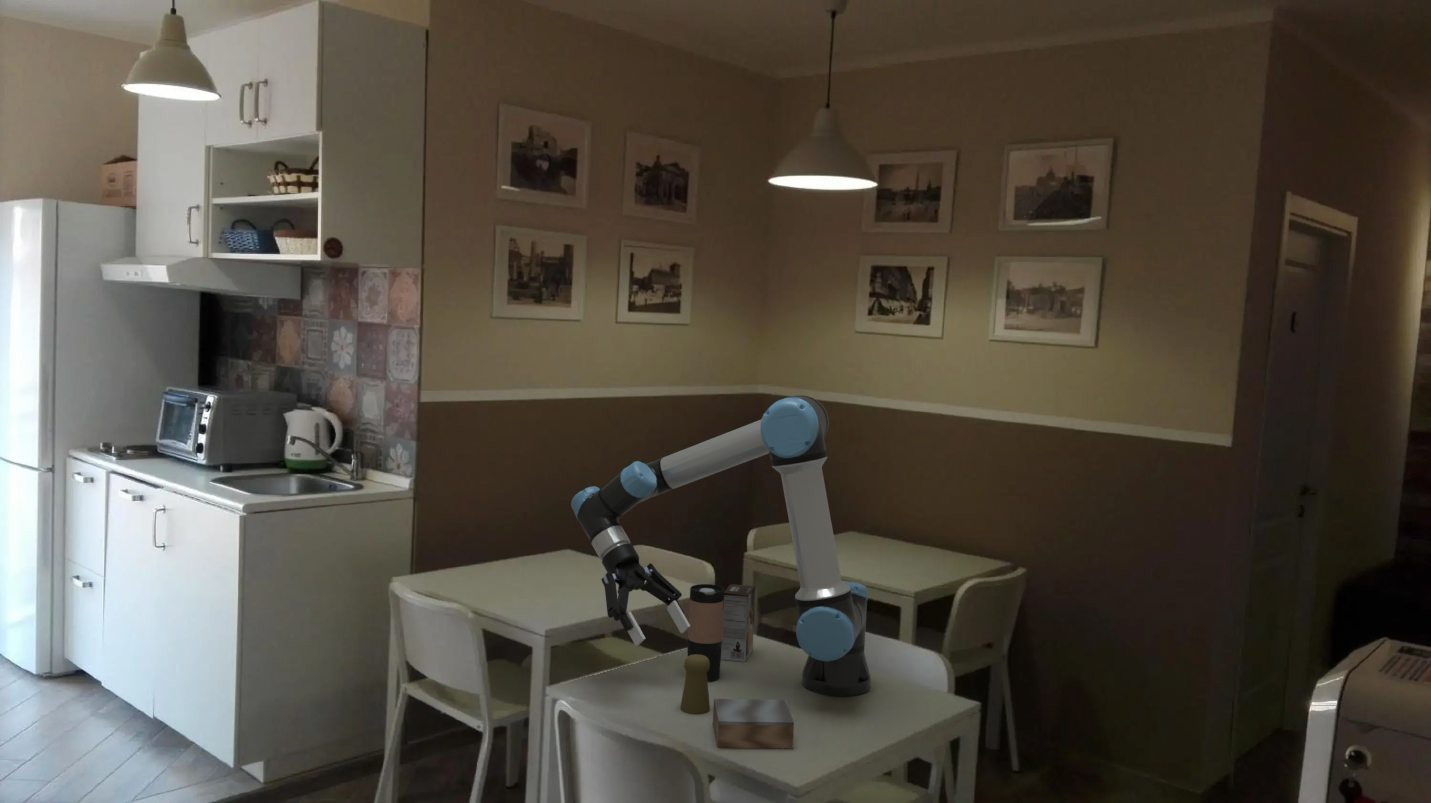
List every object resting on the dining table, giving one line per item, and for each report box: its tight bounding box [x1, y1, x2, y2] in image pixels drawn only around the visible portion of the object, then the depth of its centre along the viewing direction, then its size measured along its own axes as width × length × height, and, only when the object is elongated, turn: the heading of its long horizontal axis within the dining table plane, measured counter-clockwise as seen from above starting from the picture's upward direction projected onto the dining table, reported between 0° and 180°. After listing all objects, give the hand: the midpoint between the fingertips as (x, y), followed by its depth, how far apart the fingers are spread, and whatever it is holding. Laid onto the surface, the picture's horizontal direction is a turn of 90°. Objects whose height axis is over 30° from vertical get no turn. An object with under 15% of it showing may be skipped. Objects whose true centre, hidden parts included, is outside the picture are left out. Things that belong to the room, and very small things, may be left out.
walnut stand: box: [712, 698, 795, 750], centre depth 207 cm, size 14×12×5 cm
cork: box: [679, 654, 711, 715], centre depth 219 cm, size 6×6×11 cm
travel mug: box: [686, 583, 725, 683], centre depth 239 cm, size 8×8×20 cm
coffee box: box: [721, 584, 756, 663], centre depth 256 cm, size 9×6×16 cm
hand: (663, 635), depth 225 cm, fingers open, 13 cm apart
